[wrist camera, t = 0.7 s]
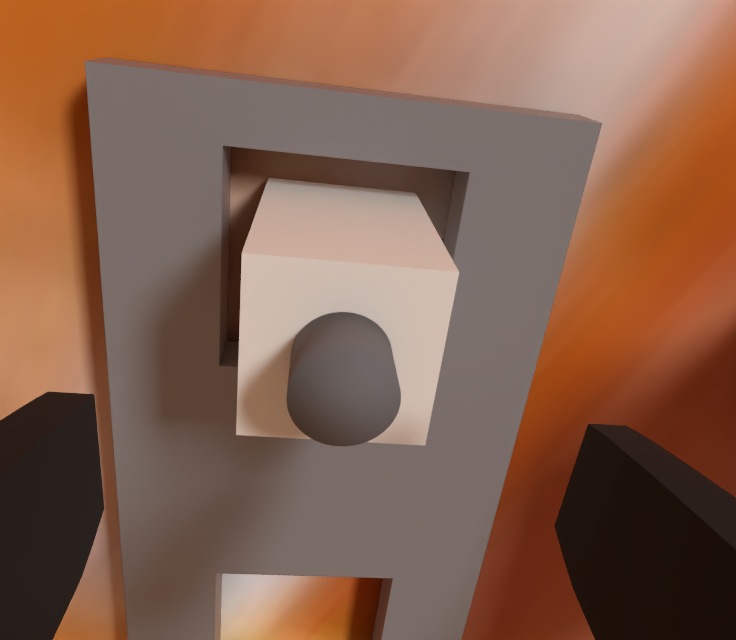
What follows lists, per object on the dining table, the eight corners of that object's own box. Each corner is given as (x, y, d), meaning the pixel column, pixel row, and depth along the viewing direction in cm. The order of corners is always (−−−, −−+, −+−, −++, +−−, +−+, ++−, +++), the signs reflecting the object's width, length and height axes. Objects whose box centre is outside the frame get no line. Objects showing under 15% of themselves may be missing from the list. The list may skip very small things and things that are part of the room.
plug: (415, 192, 17) (477, 305, 10) (395, 322, 18) (437, 494, 12) (268, 177, 16) (230, 284, 10) (262, 312, 18) (225, 484, 11)
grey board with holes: (578, 115, 16) (602, 123, 15) (435, 678, 26) (441, 714, 24) (106, 57, 15) (84, 60, 13) (143, 674, 24) (133, 712, 23)
